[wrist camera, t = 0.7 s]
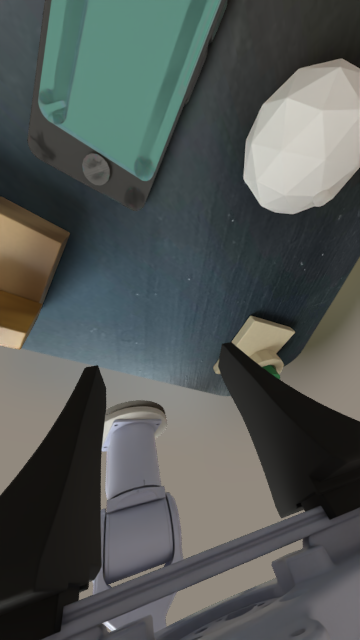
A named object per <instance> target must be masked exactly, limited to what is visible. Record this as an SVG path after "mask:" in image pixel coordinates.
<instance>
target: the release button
mask: <svg viewBox="0 0 360 640" xmlns="http://www.w3.org/2000/svg"><path fill="white" fill-rule="evenodd" d="M263 368H264V369H265V370H267V371H268V372H269V373H271V374H272V375H274V376H275V377H276V378H278V379H280V375H279V374H278V372H277V371H276V370H275V369H274V367H273V366H272V365H266V366H263Z"/></svg>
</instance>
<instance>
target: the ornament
mask: <svg viewBox="0 0 360 640" xmlns="http://www.w3.org/2000/svg"><path fill="white" fill-rule="evenodd" d="M359 168H360V68H358V67H356V66H354V65H353V64H351V63H349V62H347V61H346V60H344V59H342V58H341V59H337V60H333V61H328V62H324V63H320V64H316V65H312V66H307V67H303V68H299V69H298V70H297V71H296V72H295V73H294V74H293V75H292V76H291V77H290V78H289V79H288V80H287V81H286V82H285V83H284V84H283V85H282V86H281V87H280V88H279V89H278V90H277V91H276V92H275V93H274V94H273V95H272V96H271V97H270V98H269V99H268V100H267V101H266V102H265V103H264V104H263V105H262V107H261V109H260V111H259V113H258V115H257V118H256V120H255V122H254V124H253V126H252V128H251V130H250V133H249V135H248V137H247V139H246V146H245V162H244V177H243V179H244V181H245V182H246V184H247V185H248V187H249V188H250V190H251V191H252V193H253V194H254V196H255V197H256V199H257V201H258V202H259V204H260V205H261V206H262V207H264V208H266V209H269V210H271V211H273V212H275V213H286V214H295V213H298V212H300V211H303V210H306V209H308V208H311V207H313V206H317V207H320V206H323V205H324V204H326V203H327V202H328V201H329V200H332V199H333V198H334V196H335V195H336V194H337V193H338V192H339V191H340V189H341V188H342V187H343V186H344V185H345V184H346V183H347V181H348V180H349V179H350V178H351V177H352V176H353V175H354V173H355V172H356V171H357V170H358V169H359Z"/></svg>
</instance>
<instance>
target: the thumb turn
mask: <svg viewBox="0 0 360 640" xmlns="http://www.w3.org/2000/svg"><path fill="white" fill-rule="evenodd" d="M42 306H43V305H42V304H41V303H38V302H35V301H32V300H29V299H26V298H23V297H20V296H17V295H14V294H11V293H8V292H5V291H2V290H0V345H1V346H5V347H10V348H15V349H21V348H22V346H23V344H24V342H25V341H26V339H27V337H28V335H29V333H30V331H31V330H32V328H33V326H34V324H35V322H36V320H37V318H38V316H39V313H40V311H41V308H42Z"/></svg>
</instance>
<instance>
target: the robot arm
mask: <svg viewBox="0 0 360 640" xmlns="http://www.w3.org/2000/svg"><path fill="white" fill-rule="evenodd" d="M218 368H219V370H220V373H221V376H222V378H223V381H224V383H225V385H226V387H227V389H228V391H229V393H230V394H231V396H232V398H233V400H234V402H235V404H236V406H237V408H238V410H239V411H240V413H241V415H242V417H243V419H244V422H245V424H246V426H247V429H248V431H249V433H250V436H251V438H252V441H253V443H254V446H255V449H256V451H257V454H258V456H259V459H260V462H261V465H262V467H263V470H264V472H265V476H266V479H267V482H268V485H269V488H270V491H271V493H272V497H273V500H274V503H275V506H276V508H277V510H278V512H279V515H280V517H281V518H283V517H286V516H289V515H291V514H294V513H296V512H299V511H301V510H305V512H303V513H301V514H298V515H296V516H293V517H291V518H288V519H285V520H283V521H281V522H278V523H275V524H273V525H270V526H268V527H265V528H262V529H260V530H257V531H255V532H252V533H250V534H247V535H245V536H242V537H240V538H237V539H234V540H232V541H229V542H227V543H224V544H222V545H219V546H217V547H214V548H211V549H209V550H206V551H204V552H201V553H199V554H197V555H194V556H191V557H189V558H186V559H183V554H182V537H181V526H180V520H179V514H178V509H177V505H176V502H175V499H174V498H173V496H171V495H170V493H169V492H166V493H165V488H164V486H161V480H160V472H159V466H158V458H157V450H156V443H155V436H154V433H155V432H156V430H157V429H158V427H159V426H160V424H161V423H162V420H161V419H117V420H114V421H113V424H112V426H111V428H110V430H109V432H108V435H107V437H106V439H105V441H104V443H103V445H102V441H103V432H104V423H105V413H106V387H105V384H104V382H103V378H102V376H101V373H100V370H99V367H98V365H97V366H91V367H86V368H85V369H84V371H83V373H82V375H81V377H80V379H79V381H78V383H77V385H76V387H75V389H74V391H73V393H72V395H71V396H70V398H69V400H68V402H67V403H66V406H65V407H64V409H63V410H62V412H61V414H60V415H59V417H58V419H57V420H56V422H55V423H54V425H53V427H52V428H51V430H50V431H49V433H48V434H47V436H46V437H45V439H44V440H43V442H42V443H41V444H40V446H39V447H38V449H37V450H36V451H35V453H34V454H33V455H32V457H31V458H30V459H29V460H28V462H27V463H26V464H25V466H24V467H23V469H22V470H21V471H20V472H19V474H18V475H17V476H16V477H15V479H14V480H13V481H12V482H11V483H10V485H9V486H8V487H7V488H6V489H5V490H4V492H3V493H2V494H1V495H0V640H360V422H359V421H357V420H355V419H352V418H350V417H348V416H345V415H343V414H341V413H339V412H337V411H335V410H332V409H330V408H328V407H326V406H324V405H322V404H320V403H318V402H316V401H315V400H313V399H311V398H309V397H307V396H305V395H303V394H302V393H300V392H298V391H297V390H295V389H293V388H292V387H290V386H288V385H287V384H285V383H284V382H282V381H281V380H279V379H278V378H276V377H275V376H274V375H272V374H271V373H269V372H268V371H267V370H265V369H264V368H263V367H261V366H260V365H259V364H257V363H256V362H255V361H254V360H252V359H251V358H250V357H249V356H247V355H246V354H245V353H244V352H243V351H241V350H240V349H239V348H238V347H237V346H235V345H234V344H233V343H232V342H230V343H224V344H222V347H221V353H220V358H219V363H218ZM101 451H107V461H106V463H107V464H106V485H105V490H106V496H107V499H108V500H107V512H106V509H102V510H101V507H100V506H101V505H100V504H101V503H100V501H101V498H100V497H101V494H100V493H101V485H100V483H101ZM303 538H304V539H303ZM301 539H303V548H302V549H301V550H298V551H295V552H292V553H290V554H287V555H285V556H283V557H281V558H279V559H277V560H275V561H273V562H272V567H273V569H274V573H275V575H276V578H275V579H272V580H270V581H268V582H265V583H263V584H260V585H258V586H255V587H253V588H251V589H248V590H246V591H244V592H241V593H238V594H236V595H234V596H231V597H229V598H227V599H224V600H222V601H220V602H217V603H215V604H213V605H211V606H209V607H206V608H204V609H202V610H200V611H198V612H196V613H194V614H192V615H190V616H188V617H186V618H183V619H181V620H179V621H177V622H175V623H173V624H171V625H169V626H167V627H166V619H165V618H166V615H167V612H168V610H169V608H170V605H171V603H172V601H173V599H174V597H175V595H176V593H177V592H178V591H180V590H182V589H185V588H187V587H189V586H192V585H194V584H197V583H199V582H201V581H203V580H206V579H208V578H211V577H213V576H215V575H218V574H220V573H222V572H225V571H227V570H229V569H232V568H234V567H237V566H239V565H241V564H244V563H246V562H249V561H251V560H253V559H256V558H258V557H260V556H263V555H265V554H267V553H270V552H272V551H274V550H277V549H279V548H282V547H284V546H286V545H289V544H291V543H293V542H296V541H298V540H301ZM164 563H166V564H165V565H164V567H163V568H160V569H158V570H155V571H153V572H150V573H148V574H145V575H143V576H140V577H138V578H135V579H133V580H130V581H127V582H125V583H122V584H120V585H117V586H115V587H111V586H110V585H108V584H111V583H114V582H116V581H119V580H122V579H124V578H127V577H130V576H132V575H135V574H138V573H140V572H143V571H146V570H148V569H151V568H154V567H156V566H159V565H162V564H164ZM90 581H93V595H92V596H89V597H87V598H84V599H81V600H79V592H82V591H84V590H87V589H88V587H89V582H90ZM78 600H79V601H78ZM102 623H103V624H102ZM106 626H107V627H108V628H109V629H110V630H111V632H110V633H109V632H108V631H107V629H106Z"/></svg>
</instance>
